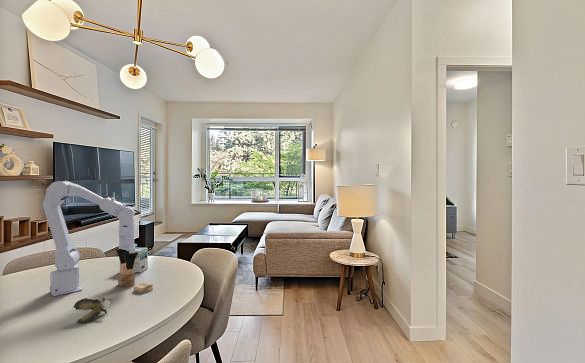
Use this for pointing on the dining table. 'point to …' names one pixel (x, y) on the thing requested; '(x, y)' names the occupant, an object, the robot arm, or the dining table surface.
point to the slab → (143, 287)
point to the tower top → (126, 277)
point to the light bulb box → (141, 260)
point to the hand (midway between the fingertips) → (126, 267)
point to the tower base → (126, 283)
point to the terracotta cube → (125, 270)
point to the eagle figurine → (93, 305)
